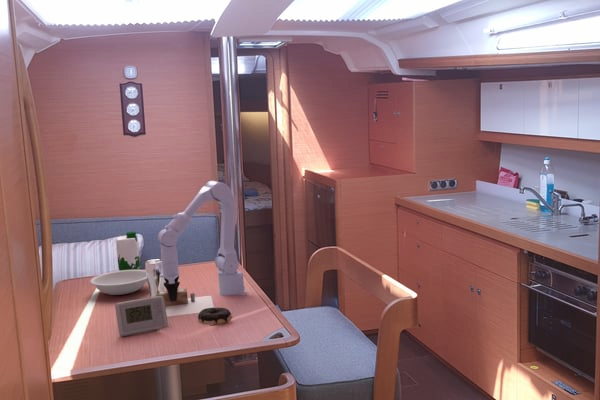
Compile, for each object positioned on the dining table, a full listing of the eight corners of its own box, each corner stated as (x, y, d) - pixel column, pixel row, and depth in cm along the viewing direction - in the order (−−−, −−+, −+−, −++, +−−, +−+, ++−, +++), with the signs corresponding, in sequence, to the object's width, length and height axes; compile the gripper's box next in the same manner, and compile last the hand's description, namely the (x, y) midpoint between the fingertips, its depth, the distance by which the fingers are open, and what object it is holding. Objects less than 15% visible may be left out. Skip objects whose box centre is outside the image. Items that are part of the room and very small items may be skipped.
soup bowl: (149, 281, 291) (148, 266, 290) (156, 295, 268) (154, 279, 267) (90, 290, 284) (89, 274, 283) (92, 305, 261) (90, 288, 260)
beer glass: (162, 302, 259) (158, 263, 257) (145, 302, 260) (141, 263, 258) (169, 296, 266) (166, 258, 263) (152, 296, 267) (149, 259, 265)
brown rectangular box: (187, 300, 256) (186, 288, 255) (188, 303, 251) (186, 291, 250) (157, 303, 254) (156, 291, 253) (157, 307, 249) (156, 295, 248)
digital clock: (117, 338, 221) (113, 306, 220) (119, 329, 230) (115, 299, 228) (168, 332, 224) (165, 300, 222) (168, 323, 233) (165, 293, 231)
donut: (204, 329, 225) (203, 317, 224) (194, 320, 235) (193, 308, 235) (236, 322, 229) (235, 311, 229) (224, 313, 240) (223, 302, 239)
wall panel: (211, 298, 260) (210, 287, 259) (215, 313, 240) (214, 302, 240) (152, 305, 256) (151, 294, 255) (151, 321, 236) (150, 310, 236)
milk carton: (139, 279, 296) (135, 234, 293) (118, 281, 295) (113, 235, 292) (142, 274, 304) (137, 230, 302) (121, 276, 304) (116, 232, 301)
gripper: (158, 258, 256) (162, 294, 258) (158, 267, 242) (162, 304, 244) (177, 256, 258) (181, 291, 260) (178, 265, 244) (182, 302, 245)
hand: (173, 298), depth 252 cm, fingers open, 7 cm apart
